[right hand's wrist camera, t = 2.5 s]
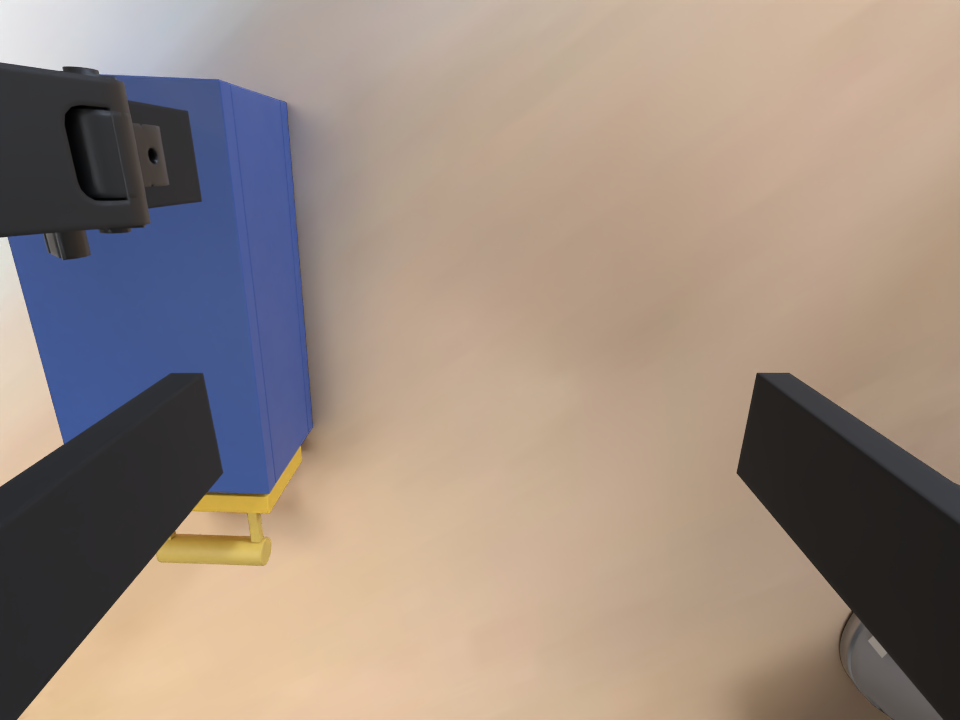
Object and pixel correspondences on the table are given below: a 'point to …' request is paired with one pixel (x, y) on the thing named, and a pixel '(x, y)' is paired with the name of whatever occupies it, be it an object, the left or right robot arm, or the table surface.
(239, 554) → the drawer
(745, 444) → the right robot arm
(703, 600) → the table surface
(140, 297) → the cabinet
